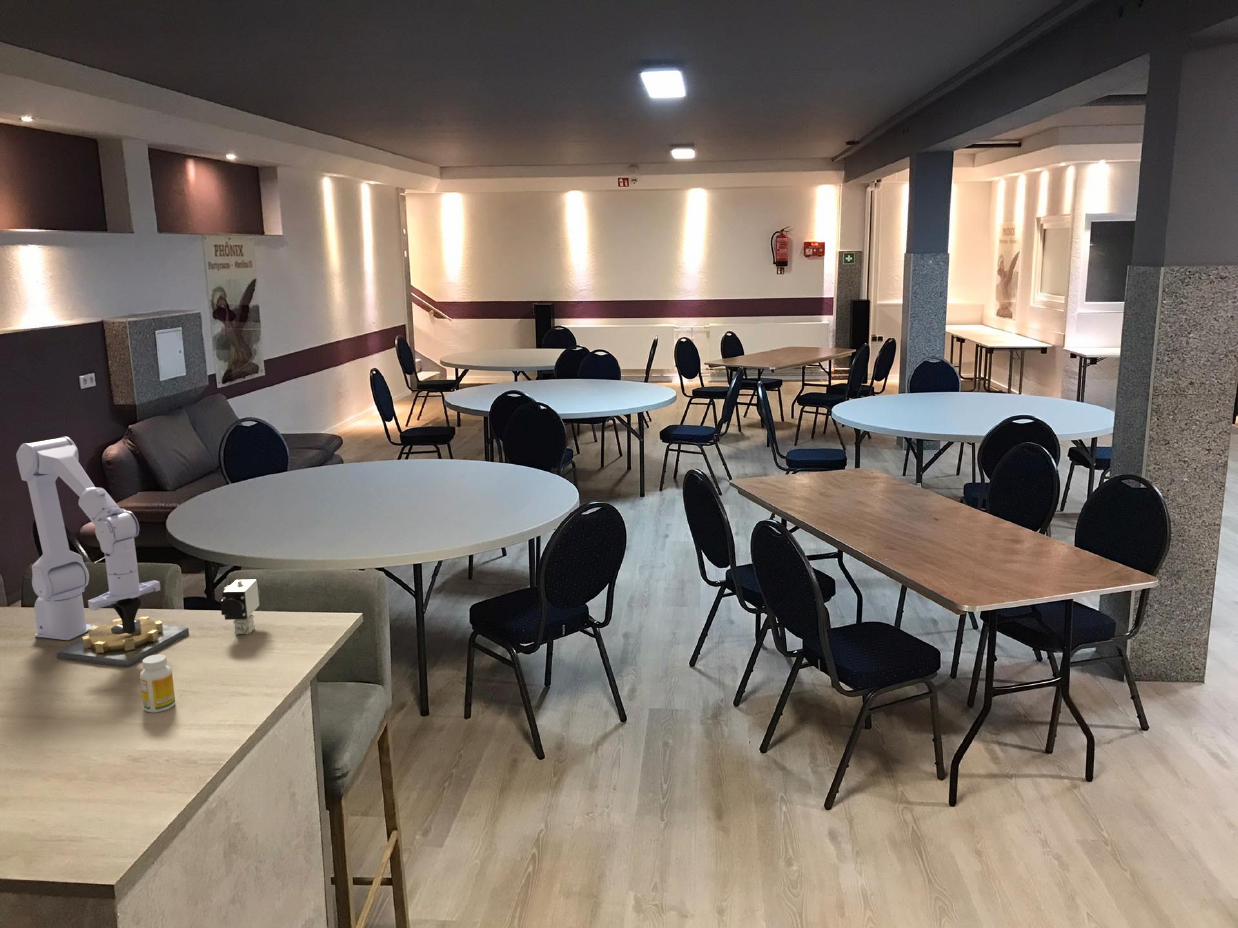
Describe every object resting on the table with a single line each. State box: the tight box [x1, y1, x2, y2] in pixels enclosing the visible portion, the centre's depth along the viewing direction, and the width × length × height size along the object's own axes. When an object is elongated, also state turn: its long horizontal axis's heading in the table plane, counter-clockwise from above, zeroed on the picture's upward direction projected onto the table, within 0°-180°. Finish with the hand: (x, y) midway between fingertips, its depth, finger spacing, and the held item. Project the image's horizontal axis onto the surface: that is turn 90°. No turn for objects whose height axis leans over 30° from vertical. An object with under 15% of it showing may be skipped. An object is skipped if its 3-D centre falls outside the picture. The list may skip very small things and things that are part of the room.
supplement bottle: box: [139, 653, 176, 713], centre depth 178 cm, size 5×5×10 cm
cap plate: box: [55, 624, 190, 668], centre depth 207 cm, size 18×18×2 cm
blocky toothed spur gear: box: [81, 616, 163, 653], centre depth 207 cm, size 15×15×5 cm
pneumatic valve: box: [219, 578, 261, 636], centre depth 213 cm, size 6×12×12 cm, turn 2°
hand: (129, 632), depth 203 cm, fingers closed, pressing on blocky toothed spur gear
